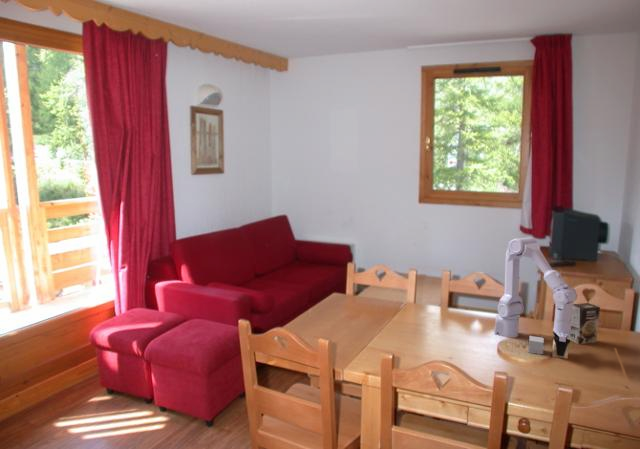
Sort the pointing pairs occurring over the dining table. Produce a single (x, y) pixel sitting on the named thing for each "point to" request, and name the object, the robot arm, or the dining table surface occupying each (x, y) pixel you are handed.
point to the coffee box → (584, 323)
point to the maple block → (556, 351)
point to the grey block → (536, 345)
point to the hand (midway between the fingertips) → (559, 352)
